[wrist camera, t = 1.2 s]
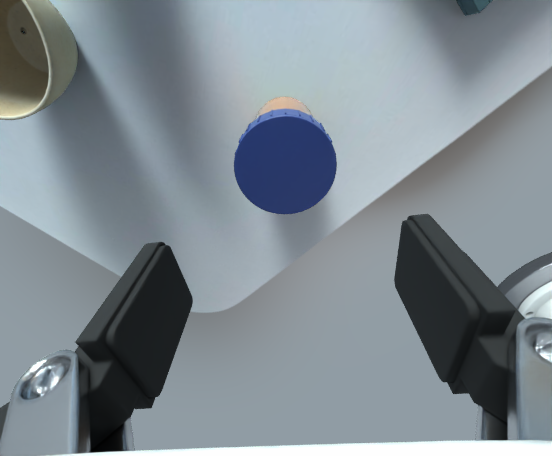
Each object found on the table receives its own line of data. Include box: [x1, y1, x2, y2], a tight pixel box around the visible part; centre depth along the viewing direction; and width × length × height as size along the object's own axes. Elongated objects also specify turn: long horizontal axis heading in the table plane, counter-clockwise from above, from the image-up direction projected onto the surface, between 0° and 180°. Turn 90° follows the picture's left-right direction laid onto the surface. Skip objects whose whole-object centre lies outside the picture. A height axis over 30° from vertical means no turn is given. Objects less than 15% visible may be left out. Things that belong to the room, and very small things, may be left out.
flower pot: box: [0, 0, 78, 120], centre depth 20 cm, size 10×10×7 cm
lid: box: [234, 108, 337, 214], centre depth 19 cm, size 7×7×2 cm
